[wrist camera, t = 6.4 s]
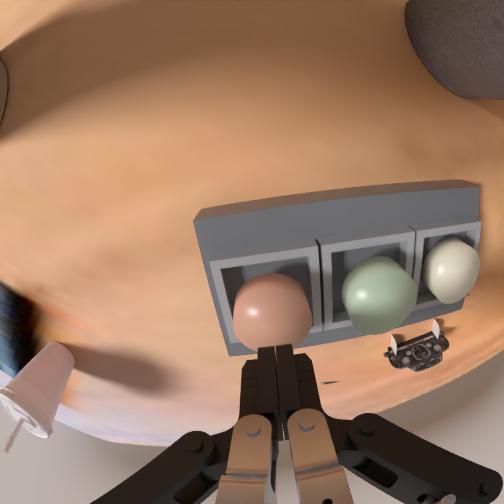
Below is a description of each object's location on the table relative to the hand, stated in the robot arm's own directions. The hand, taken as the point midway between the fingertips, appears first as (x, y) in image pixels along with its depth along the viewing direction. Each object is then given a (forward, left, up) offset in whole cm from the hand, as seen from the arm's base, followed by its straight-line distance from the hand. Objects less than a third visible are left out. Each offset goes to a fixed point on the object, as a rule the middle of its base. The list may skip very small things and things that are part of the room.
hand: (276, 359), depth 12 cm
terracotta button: (0, 0, -4) cm, 4 cm away
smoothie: (+7, -23, -8) cm, 25 cm away
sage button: (0, +6, -4) cm, 7 cm away
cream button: (0, +12, -5) cm, 13 cm away
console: (0, +6, -8) cm, 10 cm away
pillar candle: (-16, +17, -8) cm, 25 cm away
